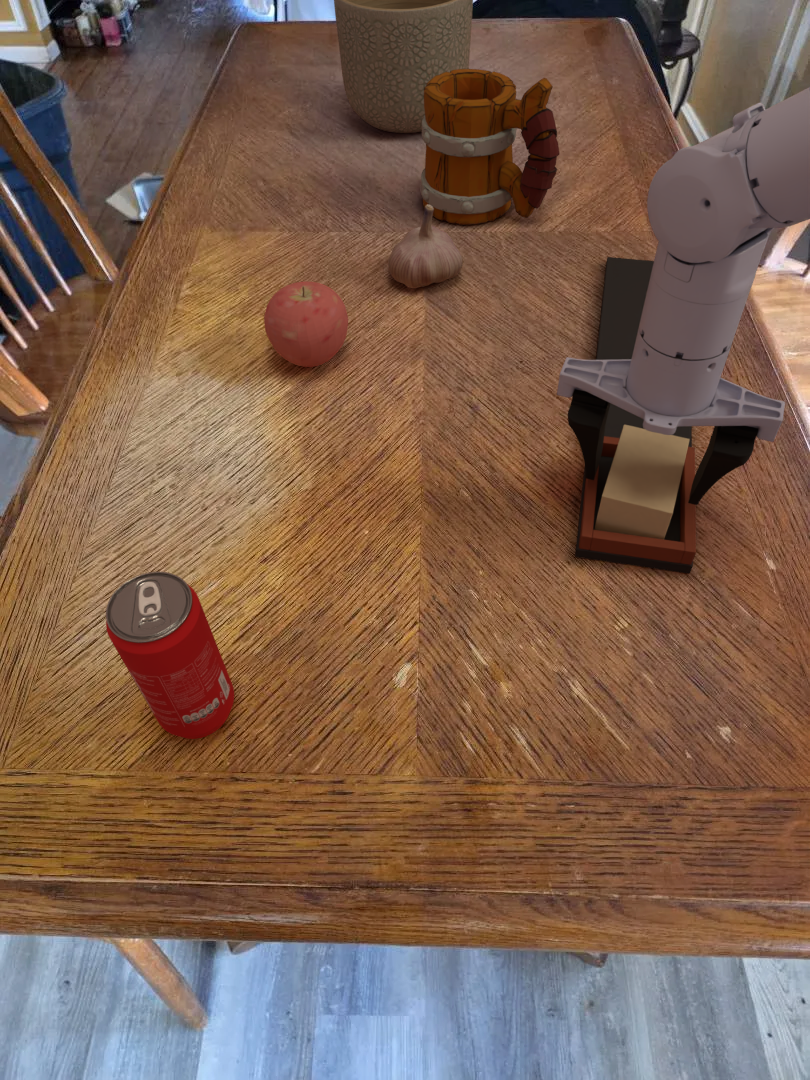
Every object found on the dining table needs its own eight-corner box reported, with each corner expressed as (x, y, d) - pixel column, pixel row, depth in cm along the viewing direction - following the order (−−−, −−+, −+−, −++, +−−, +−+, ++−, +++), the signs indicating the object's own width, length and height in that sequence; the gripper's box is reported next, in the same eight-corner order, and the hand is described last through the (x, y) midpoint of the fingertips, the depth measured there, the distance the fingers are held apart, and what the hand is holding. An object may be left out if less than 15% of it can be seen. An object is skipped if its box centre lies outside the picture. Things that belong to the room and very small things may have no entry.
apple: (366, 359, 77) (360, 285, 71) (304, 394, 74) (292, 319, 68) (319, 324, 80) (309, 251, 74) (258, 356, 77) (242, 283, 71)
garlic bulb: (472, 267, 86) (475, 195, 80) (444, 305, 82) (444, 231, 76) (408, 252, 88) (406, 180, 82) (377, 287, 84) (373, 214, 78)
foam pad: (677, 475, 65) (689, 438, 62) (660, 549, 60) (672, 513, 57) (615, 460, 66) (624, 424, 63) (593, 531, 61) (601, 496, 58)
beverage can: (162, 754, 52) (102, 655, 43) (156, 685, 55) (99, 579, 46) (242, 733, 53) (201, 632, 43) (231, 666, 56) (191, 558, 46)
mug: (449, 171, 100) (451, 34, 88) (570, 207, 93) (589, 65, 82) (399, 209, 94) (395, 69, 82) (524, 250, 88) (538, 105, 76)
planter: (472, 91, 114) (476, -38, 102) (465, 147, 103) (469, 10, 91) (353, 90, 116) (344, -38, 104) (334, 145, 105) (321, 9, 93)
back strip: (687, 272, 84) (693, 250, 82) (689, 574, 60) (698, 553, 58) (605, 265, 86) (609, 243, 84) (574, 557, 61) (579, 536, 59)
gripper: (556, 346, 50) (535, 495, 61) (803, 397, 46) (736, 546, 57) (582, 284, 54) (558, 434, 65) (811, 326, 51) (746, 477, 61)
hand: (642, 482), depth 61 cm, fingers open, 7 cm apart
